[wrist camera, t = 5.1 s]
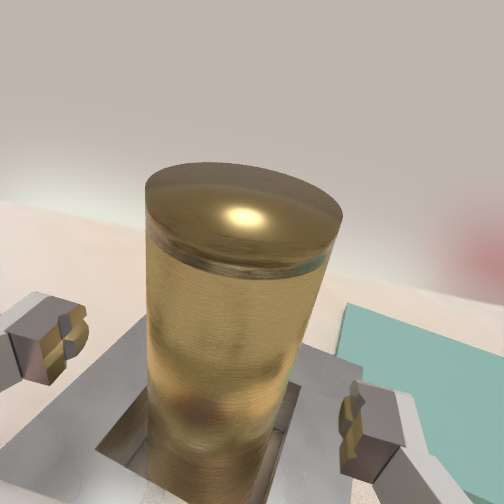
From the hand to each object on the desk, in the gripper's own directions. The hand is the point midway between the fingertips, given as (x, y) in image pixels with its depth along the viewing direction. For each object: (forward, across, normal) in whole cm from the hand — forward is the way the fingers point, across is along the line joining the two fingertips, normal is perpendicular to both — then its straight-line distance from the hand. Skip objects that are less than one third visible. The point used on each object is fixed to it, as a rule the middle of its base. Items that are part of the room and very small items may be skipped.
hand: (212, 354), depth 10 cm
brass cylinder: (+2, 0, +10) cm, 10 cm away
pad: (+10, -13, +9) cm, 18 cm away
